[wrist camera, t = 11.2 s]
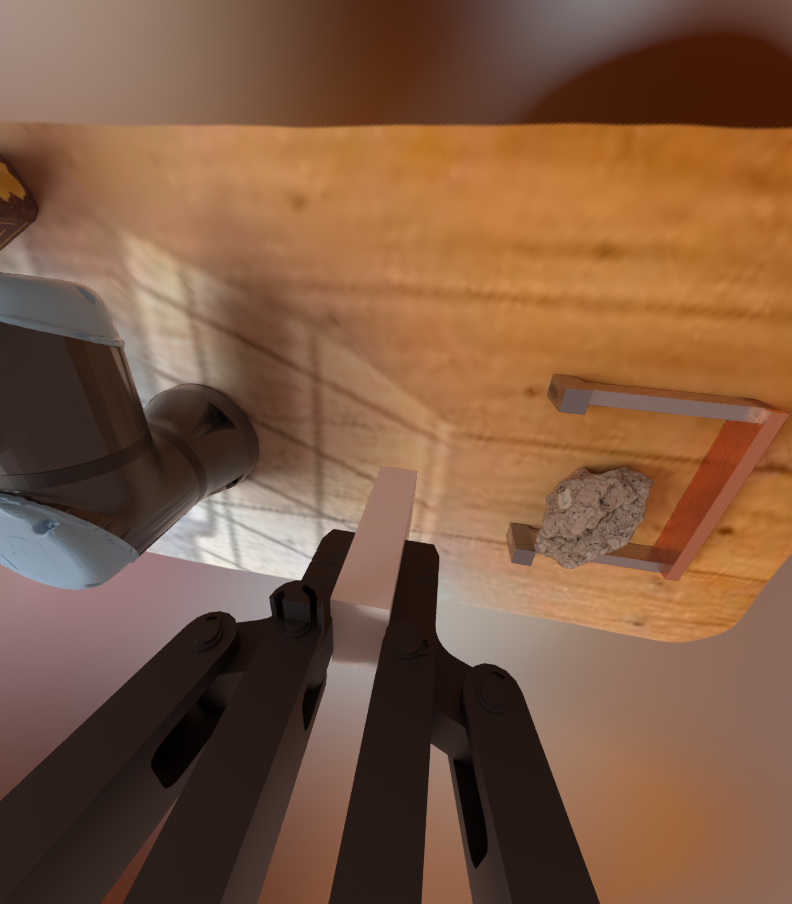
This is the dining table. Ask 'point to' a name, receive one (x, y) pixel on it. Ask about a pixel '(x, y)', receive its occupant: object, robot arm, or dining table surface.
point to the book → (14, 204)
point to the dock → (707, 491)
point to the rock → (592, 515)
